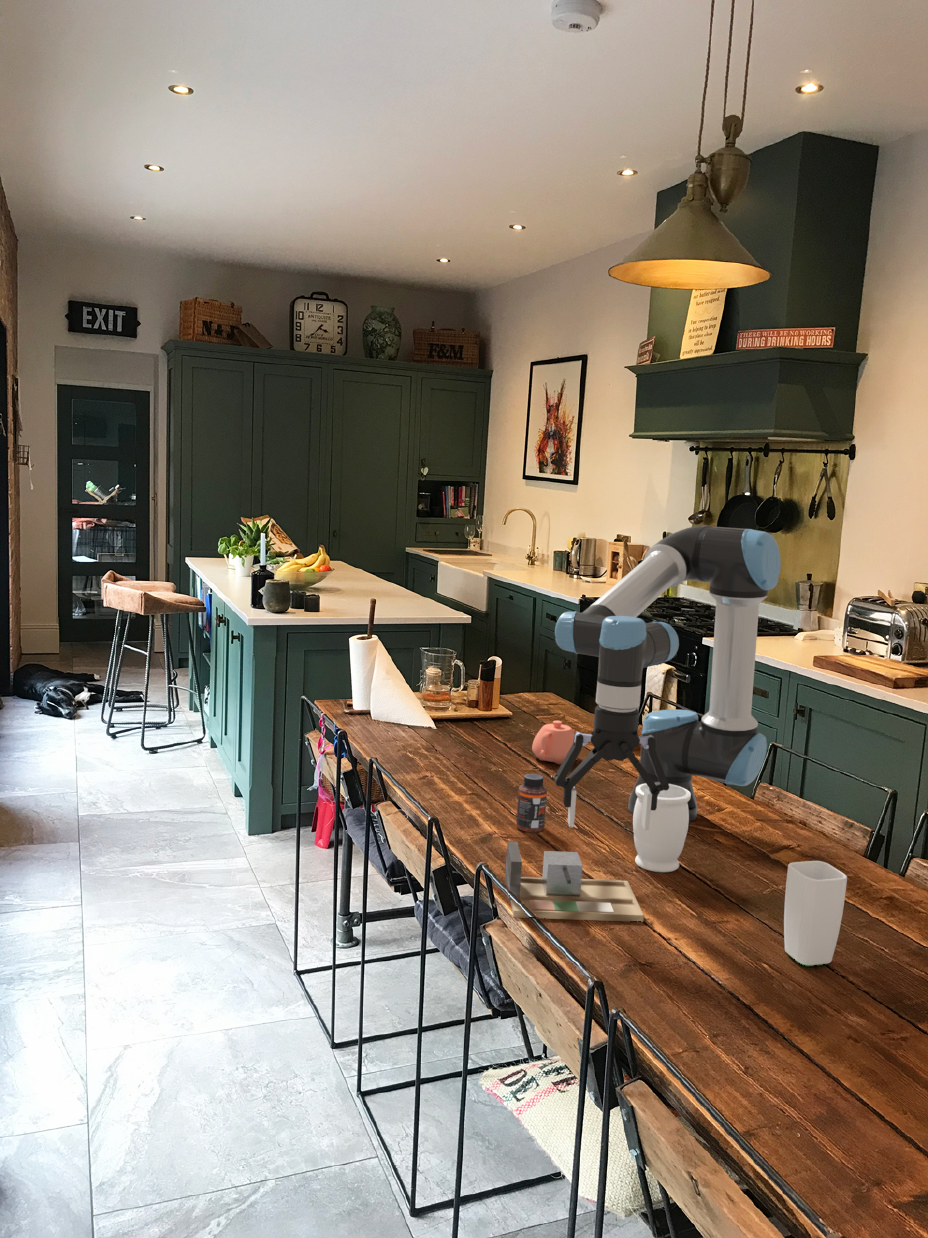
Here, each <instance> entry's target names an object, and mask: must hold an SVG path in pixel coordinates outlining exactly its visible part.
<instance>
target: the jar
mask: <svg viewBox="0 0 928 1238" xmlns="http://www.w3.org/2000/svg"><path fill="white" fill-rule="evenodd" d="M644 789H649V787H648V785H647V784H646V783H644V784H640V785H638V786H637V787H636V791H635V792H636V795H637V796H638V798H637V800H636V804H635V808H634V814H632V815H633V816H632V829H633V831H632V832H633V842H634V847H635V850H636V853H637V855H636V856H635V860H634V861H635V864H636V866H638V867H640V868H641V869H643V870H646V871H650V872H656V873H671V872H674V871H676V870H677V869H679V867H680V862H679V860H678V858H679V857H680V856H681V854H682V852H683V848H684V846H685V841H686V838H687V834H688V830H689V823H690V822H689V809H688V804H687V802H688V801H689V800H690V798H691V793H690V792H689V791H688V790H687V789H685V788H682V787H680V786H676V785H672V784H669V789H668V790H663V791H660V793H659V794H658V797H657V808H656V810H651V812H650V824H649V830H644V828H643V826H642V812H643V800H644Z"/></svg>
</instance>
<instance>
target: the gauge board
mask: <svg viewBox="0 0 928 1238" xmlns="http://www.w3.org/2000/svg"><path fill="white" fill-rule="evenodd" d="M522 864H523V860H522V856H521V851H520V847H519V843H518V841H507V844H506V859H505V872H504V873H505V874H504V880H505V884H507V886H508V887H509V889H510V891H511V892H512V893H513V894H514V895H515V896H516V897H518V898H519V899H520V900H521V901H522V902H524V904H525V905H526V906H527V907H528V908H529V909H530V910H531V911H532V912H533V913H534V914H536V915H537V916H538V917H539V918H538V919H544V918H545V920H546V919H550V920H551V919H552V920H576V921H578V920H579V921H580V920H581V921H600V922H601V921H605V922H606V921H607V922H609V921H610V922H630V921H637V923H639V922H638V921H641V922H640V923H643V922H644V918H645V917H644V916H645V915H644V913H643V911H642V909H641V907H640V904H639V902H638V901H637V898H636V895H635V894H634V891H633V890H632V887H631V885H630V883H629V881H628V880H619V879H618V880H616V879H615V880H614V879H591V878H590V879H587V878H582V880H581V894H580V897H574V896H546V895H545V892H544V889H543V885H542V877H539V876H538V877H537V876H536V877H534V876H532V877H531V876H522V866H523V865H522ZM507 886H506V887H507ZM507 897H508V901H510V907H511V912H512V917H513V918H518V919H520V918H521V919H523V918H524V919H530V918H529V917H528V916H527V915H526V914H525V911H524V910H523V909H522V908H521V907H520V906H519V905H518V904H516V903H515V902H514V901H513V900H512V899H511V898H510V895H508V894H507Z"/></svg>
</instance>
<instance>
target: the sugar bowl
mask: <svg viewBox="0 0 928 1238" xmlns="http://www.w3.org/2000/svg"><path fill="white" fill-rule="evenodd" d="M574 735H575V732H574V730H573V729H572V727H571V726H569V725H567V724H563V721H561V720H553V721H552V723H547V724H544V725H542V727H541V728H540V729H539V731H538V732H537V734H536V735H535V736H534V739H533V742H532V747H531V749H532V752H533V754H534V755H535V757H536V758H537V759H538V760H539V761H545V762H549V763H550V762H551V763H555V764H556V765H561V764H562V762H563V761H564V759H565V757H566V755H567V753H568V752H569V750H570V748H571V746H572V744H573V741H574Z"/></svg>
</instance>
